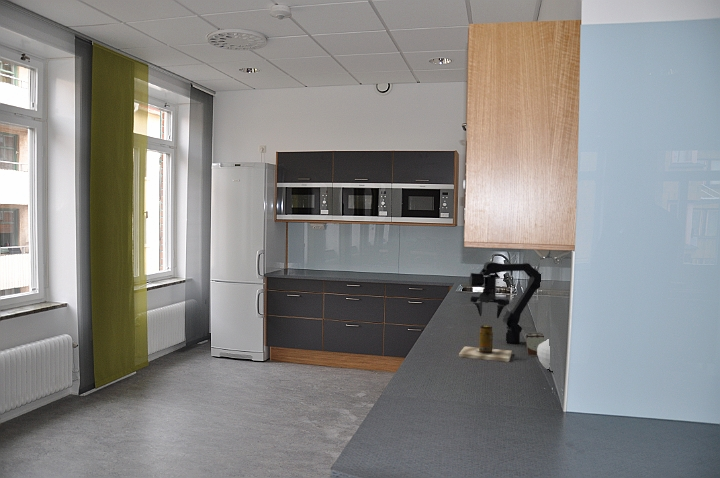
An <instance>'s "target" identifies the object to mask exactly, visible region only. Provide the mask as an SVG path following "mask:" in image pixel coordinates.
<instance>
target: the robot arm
mask: <svg viewBox="0 0 720 478" xmlns="http://www.w3.org/2000/svg"><path fill="white" fill-rule="evenodd" d="M522 271H523V272H525V273H524V274H526V275H527V276H528V277H529V278H528V281H527V286H526V288H525V289H524V291H523V293H522V294H521V296H520V297H519V298H518V300H517V302H516V304H515V305H514V307H513V308H512V310H510V311H509V310H506V312H505V314H504V315H503V319H502V323H503V325H504V326H505V328H506V329H507V330H506V331H507V332H505V341H506V343H507V344H514V345H516V344H517V345H519V344H521V332H522V331H523V327H522V326H521V325H520V324H519V322H520V319H521V314H522V313H523V311H524V310H525V308H526V307H527V305H528V304H529V302H530V301H531V300H532V299H531V298H532V297H533V295H534V294H535V292H536V291H537V290H539V289H540V288H541V287H540V282H541V274H542V273H541V274H540V272H539V271H538V270H537V269H536V268H535V267H534V266H532V265H531V264H530V263H529V262H528V263H527V262H523V263H519V262H518V263H517V262H515V263H500V262H499V263H498V262H493V261H486V262H485V263H484V264H483V268H482V269H481V270H480V272H479V273H477V272H470V275H469V279H468V284H469V287H482V286H483V288H482V292H481V293H480V294H479V295H471V297H470V300H469V301H470V302H472V304H474V305H475V306H476V308H477V311H478V314H479V317H482V313H483V303H485V304H488V303H493V304H494V303H495V304H497V305H496V308H497V311H496V312H497V313H496V318H497V319H499V317H500V316H501V313H502V311H503V309H504V308H505V307H507V305H510V300H509V299H508V298H505V297H504V298H503V297H500V298H498V299H497V296H496V294H497V293H496V291H497V283H496V282H497V279H500V278H501V276H500V275H499V273H502V272H522Z"/></svg>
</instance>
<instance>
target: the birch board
mask: <svg viewBox="0 0 720 478" xmlns="http://www.w3.org/2000/svg"><path fill="white" fill-rule="evenodd" d="M475 350H479V347H473V346H463V348H462V349H461V350H460V352H459V353H458V357H459V358H467V359H475V360H484V361H485V360H486V361H487V360H488V361H496V362H506V363H507V362H510V360H511V357H512V351H513V350H506V349H497V348H496V349H495V348H492V351H494V352H497V354H484V353H480V352H477V351H475Z"/></svg>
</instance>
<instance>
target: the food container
mask: <svg viewBox="0 0 720 478" xmlns="http://www.w3.org/2000/svg"><path fill="white" fill-rule="evenodd" d="M543 333H544V332H541V331H540V332H539V331H529V332H526V333H525V335H524V338H525V340H526V341H525V342H526V354H527V355H526V356H528V355H529V356H533V357H538V355H537V348H538V345H539V344H541V343H542V342H544V335H543ZM529 356H528V357H529Z"/></svg>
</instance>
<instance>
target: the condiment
mask: <svg viewBox="0 0 720 478" xmlns="http://www.w3.org/2000/svg"><path fill="white" fill-rule="evenodd" d="M479 329H480V331H479V334H478V335H479V336H478V337H479V339H478V340H479V341H478V342H479V343H478V348H479V350H475V351H477V352H480V353H484V354H497V352H494V351H492V349H493V341H494V339H493V337H494V336H493V335H494V332H493V326H492V325H487V324H482V325H480V328H479Z"/></svg>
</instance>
